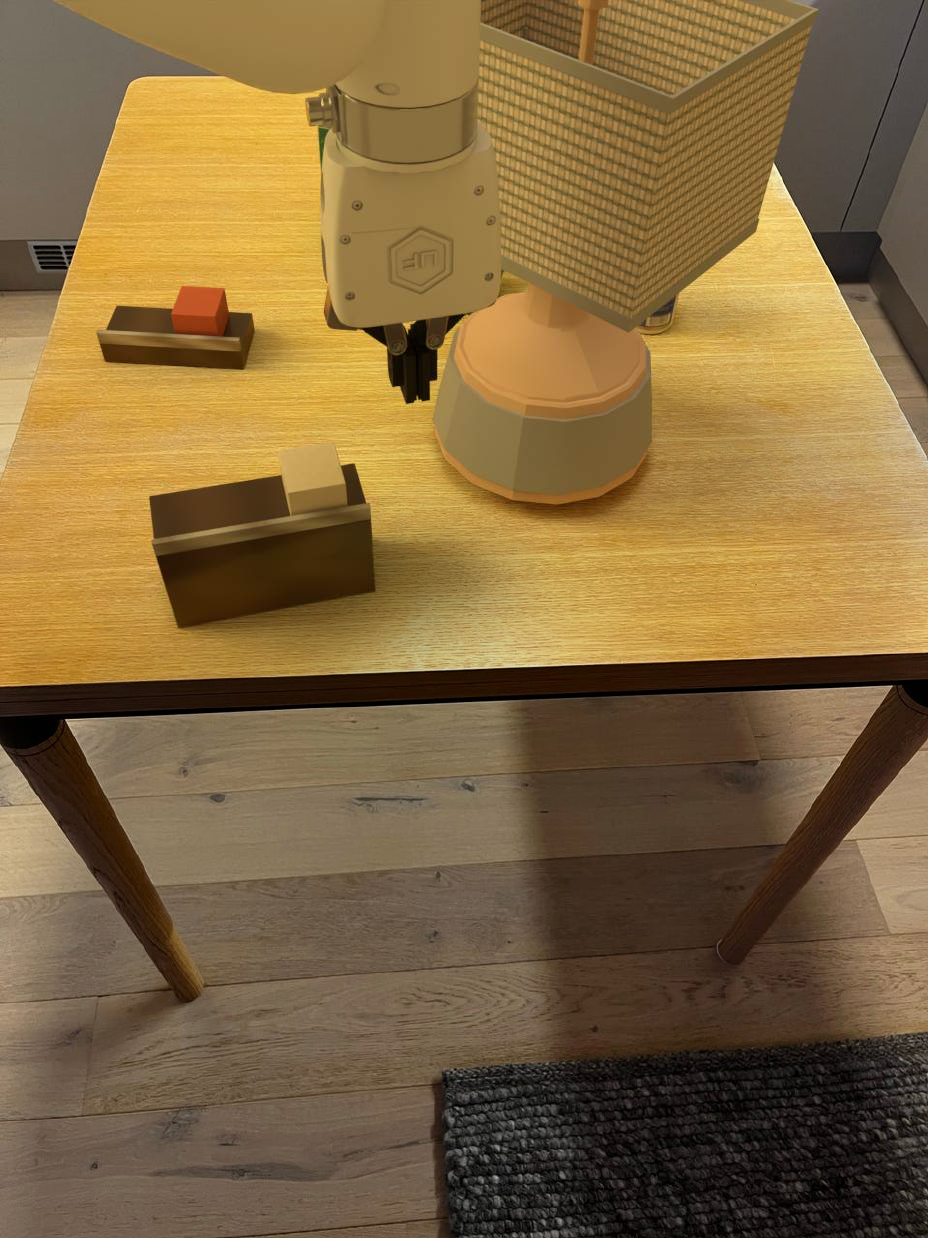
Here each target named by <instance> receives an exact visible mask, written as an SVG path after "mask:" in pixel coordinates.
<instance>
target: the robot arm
mask: <svg viewBox="0 0 928 1238" xmlns="http://www.w3.org/2000/svg"><path fill="white" fill-rule="evenodd" d="M52 1H53V2H54V3H56V4H59V5H61V6H63V7H65V8H66V9H69V10H70V11H72V12H74V13H75V14H78V15H80V16H81V17H84V18H86V19H88V20H90V21H93V22H94V23H96V24H97V25H100V26H102V27H105V28H106V29H109V30H111V31H113V32H115V33H117V34H119V35H122V36H124V37H127V38H128V39H130V40H132V41H135V42H137V43H139V44H142V45H144V46H147V47H149V48H151V49H153V50H156V51H159V52H161V53H163V54H166V55H169V56H171V57H173V58H176V59H179V60H182V61H184V62H186V63H189V64H192V65H194V66H197V67H199V68H202V69H204V70H207V71H209V72H212V73H215V74H217V75H220V76H222V77H224V78H227V79H230V80H232V81H235V82H238V83H240V84H242V85H246V86H248V87H251V88H254V89H258V90H260V91H266V92H270V93H276V94H287V95H300V94H309V93H315V92H318V91H321V90H325V92H320V93H319V94H318V96H310V97H305V98H304V105H305V107H304V108H305V114H306V119H307V123H308V126H309V127H316V126H317V127H318V126H319V125H323V127H324V128H326V127H331V129H330V130H329V131H328V133H327V135H326V138H325V144H324V151H323V160H322V171H321V170H320V193H319V194H320V198H319V199H320V200H319V201H320V204H319V205H320V206H319V207H320V214H319V215H320V216H319V217H320V247H321V250H320V251H321V261H322V271H323V275H324V279H325V282H326V284H327V289H326V293H325V301H324V306H323V315H324V319H325V322H326V325H327V327H328V328H330V329H331V330H338V331H351V332H358V331H359V330H361V331H363V332H364V333H365V334H367V335H369V336H370V337H372V339H374V340H375V341H378V342H379V343H381V344H382V345H383V346H385V347H386V356H387V358H386V359H387V372H388V374H387V375H388V379H389V382H390V385H391V387H392V388H396V387H399V388H400V391H401V394H402V396H403V400H404V402H405V404H406V405H409V404H414V403H415V401H417V400H418V401H421V402H422V403H423V402H429V401H430V400H431V382H435V381H438V349H440V348H442V347H443V345H444V343H445V339H446V335H447V334H448V333H449V332H450V331H451V330H452V329H453V328H454V327H455V326H456V325H457V324H458V323H459V322H460V321H461V320H463V318H464V317H465V315H466V314H467V315H471V314H472V313H474V312H477V311H479V310H482V309H485V308H488V307H490V306H492V305H494V304H495V302H496V299H497V297H498V295H499V296H500V290H501V283H502V278H501V229H500V206H499V191H498V178H497V170H496V161H495V155H494V148H493V143H492V138H491V136H490V134H489V133H488V132H487V131H486V130H485V128H484V127H483V126H482V124H481V123H480V122H479V121H477V118H478V86H479V54H480V22H481V0H52ZM411 322H414V323H411ZM405 323H410V324H409V328H408V329H406V327H405V325H404V324H405Z"/></svg>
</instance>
